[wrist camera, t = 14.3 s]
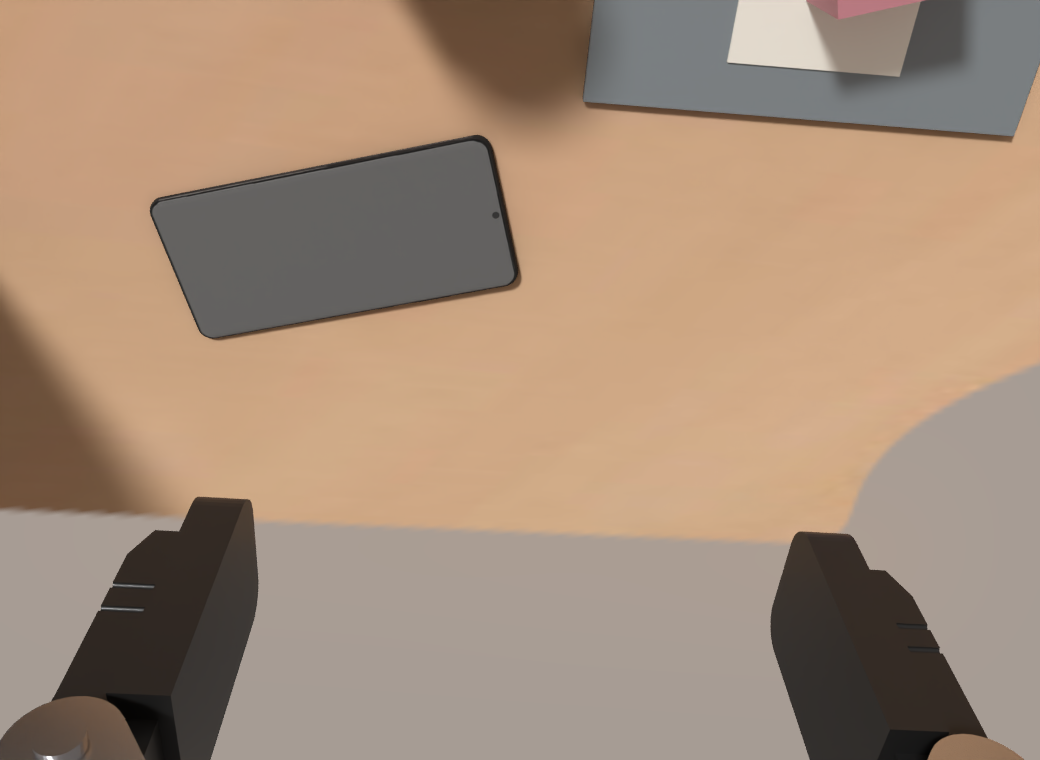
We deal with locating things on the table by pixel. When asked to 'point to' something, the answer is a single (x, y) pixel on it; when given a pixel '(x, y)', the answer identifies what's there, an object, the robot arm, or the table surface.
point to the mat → (820, 60)
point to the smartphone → (340, 237)
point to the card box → (856, 6)
